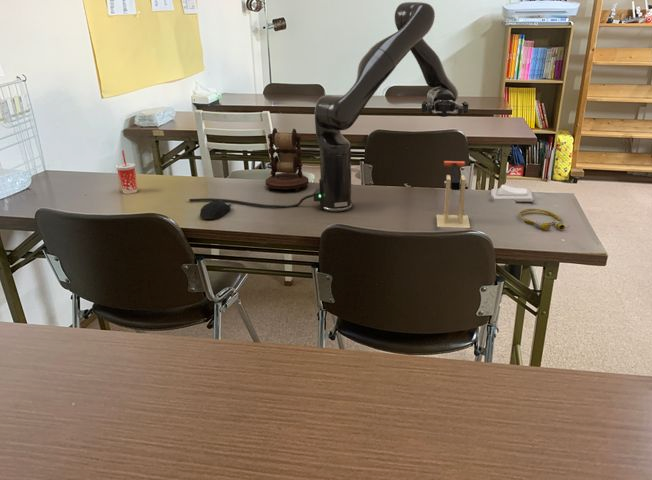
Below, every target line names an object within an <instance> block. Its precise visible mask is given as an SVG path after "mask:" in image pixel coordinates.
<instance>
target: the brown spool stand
mask: <svg viewBox="0 0 652 480" xmlns="http://www.w3.org/2000/svg"><path fill="white" fill-rule="evenodd" d="M267 139H268V143H269V144H268V150H267V151H268V154H269V155H270V157H269V161H270V162H269V166H270V169H271V170H270V176H269V177H267V178H266V179H265V180H264V181H265V182H264V183H265V186H266V187H267V188H268V190H269V191H272V189H276V190H293V189H294V190H295V192H299V189H300V188H303V187H305V186H307V185H308V184H309V182H310V181H309V178H308V177H307V176H305V175H304V174H303V171H302V170H303V168H302V167H303V162H302V155H303V150H302V148H301V147H302V144H301V139H302V136H301V135H300V134H298V133H297V130H296V128H293V129H292V131H291V132H290V133H289V132H288V133H287V132H286V133H285V132H278V129H277V128H276V127H274V128H273V129H272V131H271V133H269V134H268V135H267ZM274 147H275V148H274ZM275 153H276V154H278V155H279V156H278V155H275ZM274 155H275V156H274Z"/></svg>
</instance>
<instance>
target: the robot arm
mask: <svg viewBox="0 0 652 480" xmlns="http://www.w3.org/2000/svg"><path fill="white" fill-rule="evenodd" d="M435 17H436V13H435V10H434V7H433V6H432V5H431V4H430V3H427V2H422V1H421V2H420V1H406V2H401V3H400V4H399V5H397V7H396V9H395V12H394V24H395V27H396V29H397V31H396V32H394V33H392V34H391V35H388V36H387V37H385V38H383V39H381V40H380V41H378V42H376V43H375V44H374V45H373V46H372V47H370V48H369V50H368V51H367V52H366V53H365V55H363V56H362V58H361V59H360V61H359V63H358V66H357V71H356V79H355V81H354V84H353V85H352V86H351V88H350V89H349V90H348V91H347V92H346V93H345V94H344V95H342V96H339V95H331V94H326V95H322V96H321V97H319V98H318V100H317V102H316V103H315V107H314V127H315V137H316V143H317V145H318V148H319V168H320V169H319V170H320V171H319V173H320V177H319V179H318V183H319V185H318V186H319V187H317V188H315V190H314V191H313V193H312V194H309V195H305V196H303V197H302V198H301V199H300V200H299V202H298V203H297V202H296V203H294V204H290V205H283V204H282V205H280V204H264V203H257V202H256V203H255V202H248V201H242V200H237V199H236V200H235V199H226V198H213V197H211V198H210V197H208V198H207V197H206V198H205V197H204V198H189V202H206V201H210V202H212V201H216V200H217V201H220V200H221V201H222V202H224V203H225V202H226V203H235V204H241V205H246V206H247V205H248V206H254V207H261V208H275V209H276V208H277V209H278V208H280V209H287V208H288V209H289V208H295V207H298V206H300V205H301V204H302V203H303V201H305V200H307V199H311V198H313V202H319V210H321V211H326V212H330V213H331V212H332V213H340V212H341V213H342V212H345V211H348V210H351V209H352V206H353V204H352V146H351V142H350V141H349V140H348V139H347V138H346V137H344V135H343V134H342V131H346V130H348V129H350V128H351V127H352V126H353V125H354V124H355V122H356V121H357V120H358V119H359V117H360V116H361V113H362V112H363V110H364V109H365V107H366V106H367V104H368V103H369V101H370V100H371V98H372V97H373V96H374V95H375V93H376V92H377V91H378V89H379V88H380V87H381V86H382V85H383V83H384V82H385V81H386V80H387V79H388V78H389V77H390V75H392V73H393V72H394V70H396V67H397V66H398V65H399V64H400V63H401V61H402V60H403V59H404V58H405V57H406V56H407V54H408V53H409V52H411V54H412V55H413V57H414V58H415V61H416V62H417V64H418V67H419V69H420V71H421V74H422V76H423V78H424V81H425V83H426V85H427V86H428V87H429V88H432V89H430V90H428V92H427V95H426V98H427V99H426V100H427V101H426V100H423V101H422V102H421V110H420V112H421V113H422V114H423V113H424V114H425V113H426V112H427V114H429V115H433V114H436V115H437V116H439V117H440V118H441V117H442V118H445V117H446V118H447V117H450V116H451V115H452V114H457V115H460V116H461V114H463V113H465V114H468V113H469V106H470V104H469V103H468V102H467V101H462V102H461V103H459V102H458V101H457V99H458V97H459V91H458V89H457V87H456V86H455V84H454V83H453V82H452V81H451V79H450V78H449V77H448V76H447V74H446V72H445V69H444V66H443V63H442V61H441V58H440V57H439V55H438V54H437V53H436V52H435V50H434V49H433V48H432V47H431V46H430V45H429V44H428V43H427V42H426V40H425V39H424V37H425V36H426V35H427V34H429V32H430V31H431V29H432V28H433V25H434V22H435Z"/></svg>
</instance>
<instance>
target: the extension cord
mask: <svg viewBox="0 0 652 480" xmlns="http://www.w3.org/2000/svg"><path fill="white" fill-rule="evenodd" d="M527 214H538V215H539V214H540V215H546V216H550V217H553V218H555V219H556V220H554V221H551V222H543V221H538V220H535V221H533V220H530V219H528V218H524V217H523V216H524V215H527ZM518 216H519V217H520V218H522V219H523V221H524V223H526V224H527V225H533V226H536V227H537V228H538V229H541V230H543V231H549V230H550V229H551V226H554V227H555V228H556V229H558V230H560V231H564V230H565V225H564V224H563V222H562V221H561V219H560V216H559V215H557V214H555V213H554V212H551V211H548V210H544V209H540V208H526V209H522V210H520V211H519V212H518Z"/></svg>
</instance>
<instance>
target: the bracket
mask: <svg viewBox="0 0 652 480" xmlns="http://www.w3.org/2000/svg"><path fill="white" fill-rule="evenodd" d="M445 176H446V177H445V180H444V181H443V182H444V187H445V190H444V191H445V194H444V207H443V208H444V210H443V214H436V227H437V228H456V229H471V224H470V220H469V215H466V214H465V215H464V208H465V197H466V195H465V193H466V188H467V186H468V181H467V180H466V175H460V189H459V198H458V211H457V214H449V212H450V196H451V180H452V177H451V175H450V174H446V175H445Z"/></svg>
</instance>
